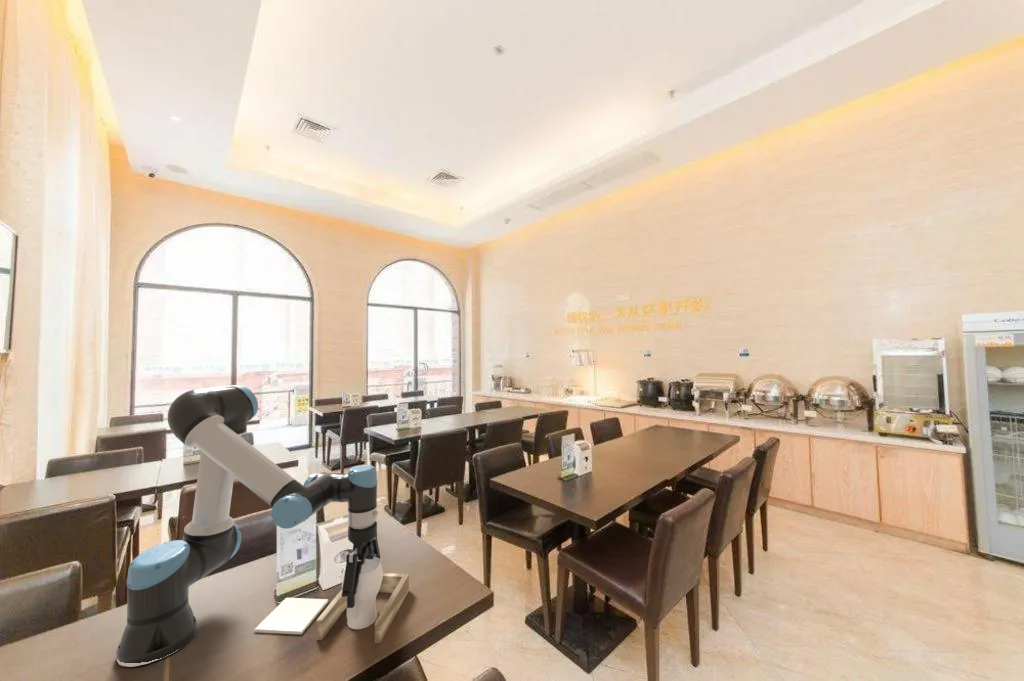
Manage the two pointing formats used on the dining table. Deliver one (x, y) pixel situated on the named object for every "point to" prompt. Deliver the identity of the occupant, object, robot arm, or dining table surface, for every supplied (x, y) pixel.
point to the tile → (292, 616)
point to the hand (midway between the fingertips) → (362, 602)
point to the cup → (367, 593)
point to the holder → (399, 590)
